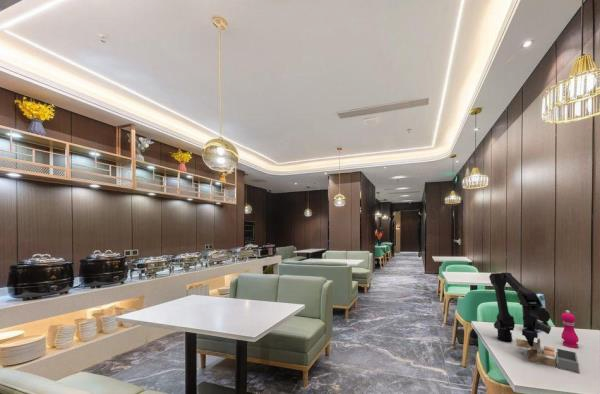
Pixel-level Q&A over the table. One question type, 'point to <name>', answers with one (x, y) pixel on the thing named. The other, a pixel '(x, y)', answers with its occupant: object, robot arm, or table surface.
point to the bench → (541, 357)
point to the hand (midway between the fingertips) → (531, 345)
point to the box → (567, 360)
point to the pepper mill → (569, 330)
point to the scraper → (525, 344)
